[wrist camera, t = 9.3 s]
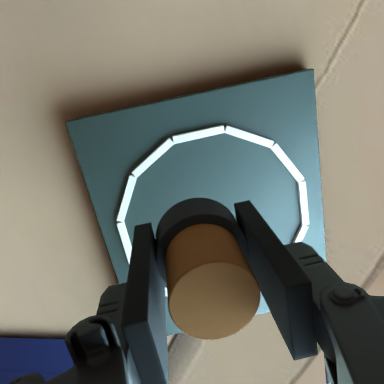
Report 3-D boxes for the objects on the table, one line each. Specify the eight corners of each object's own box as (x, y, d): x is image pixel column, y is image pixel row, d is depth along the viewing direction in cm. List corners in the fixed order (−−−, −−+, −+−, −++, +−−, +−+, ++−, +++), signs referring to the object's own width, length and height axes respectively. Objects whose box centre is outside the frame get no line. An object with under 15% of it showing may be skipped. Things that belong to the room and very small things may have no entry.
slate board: (307, 68, 22) (316, 68, 21) (323, 290, 28) (330, 300, 27) (68, 119, 21) (63, 122, 20) (138, 333, 28) (137, 345, 26)
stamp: (231, 188, 15) (265, 237, 11) (243, 262, 17) (278, 334, 12) (146, 207, 15) (142, 266, 10) (165, 280, 16) (170, 360, 12)
